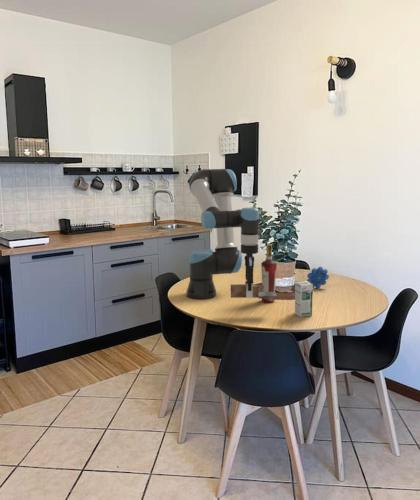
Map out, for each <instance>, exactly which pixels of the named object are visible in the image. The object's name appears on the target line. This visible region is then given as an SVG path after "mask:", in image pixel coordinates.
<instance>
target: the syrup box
mask: <svg viewBox="0 0 420 500" xmlns="http://www.w3.org/2000/svg"><path fill="white" fill-rule="evenodd" d="M294 284H295V285H294V286H295V287H294V289H295V290H294V313H295V315H297V316H299V317H301V318H302V317H309V316H310V317H311V316H313V291H314V290H313V289H314V288H313V284H312V283H310V282H307V280H305V281H297V282H295V283H294Z"/></svg>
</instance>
